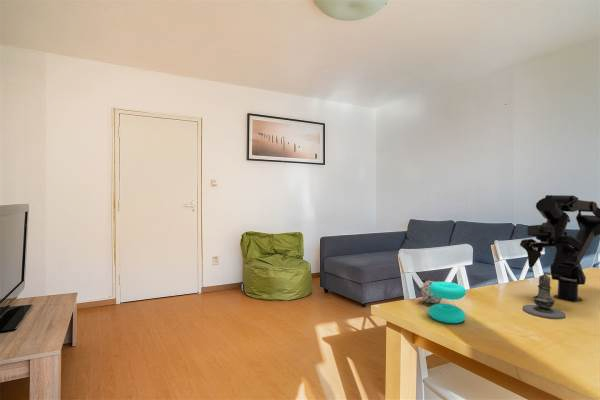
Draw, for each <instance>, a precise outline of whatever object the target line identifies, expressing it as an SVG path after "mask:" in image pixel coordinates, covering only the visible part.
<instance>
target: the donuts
mask: <svg viewBox="0 0 600 400" xmlns="http://www.w3.org/2000/svg"><path fill="white" fill-rule="evenodd" d="M429 290H430V292H431V293H432V294H433V295H435V296H436V297H439V298H442V299H444V300H449V301H450V300H451V301H453V300H454V301H456V300H460V299H462V298H465V296H466V294H467V290H466V288H465V286H462V285H461V284H459V283H455V282H450V281H442V282H440V281H434V283H432V284H430V286H429ZM442 299H441V300H442ZM428 314H429V316H430V317H431V318H432V319H434V320H435V321H438V322H440V323H445V324H459V323H462V322H464V321H465V319H466V313H465V311H464V310H463V309H462V308H460V307H459V306H456V305H454V304H450V303H443V302H442V303H440V302H439V304H435V303H433V304H432V305H430V306H429V308H428Z"/></svg>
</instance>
